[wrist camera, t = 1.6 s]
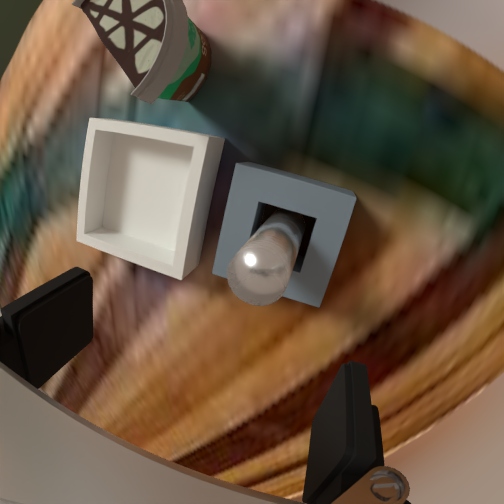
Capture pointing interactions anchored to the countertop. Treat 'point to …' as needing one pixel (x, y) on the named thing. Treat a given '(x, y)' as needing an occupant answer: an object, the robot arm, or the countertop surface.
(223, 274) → the block
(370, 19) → the countertop surface
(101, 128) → the parts tray
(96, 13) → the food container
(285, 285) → the steel pin
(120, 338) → the countertop surface
